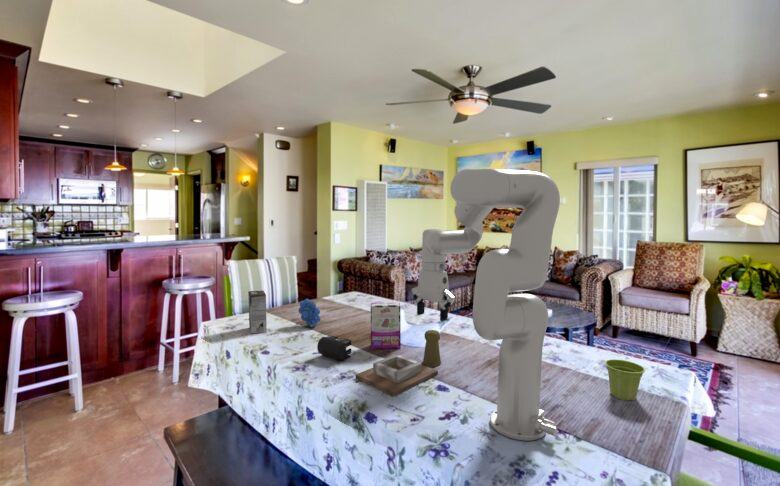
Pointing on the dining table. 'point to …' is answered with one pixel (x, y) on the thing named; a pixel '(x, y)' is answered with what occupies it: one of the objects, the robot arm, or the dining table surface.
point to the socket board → (396, 374)
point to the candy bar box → (385, 326)
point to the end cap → (334, 347)
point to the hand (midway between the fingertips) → (431, 317)
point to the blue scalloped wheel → (309, 312)
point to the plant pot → (624, 378)
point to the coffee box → (257, 311)
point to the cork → (432, 348)
